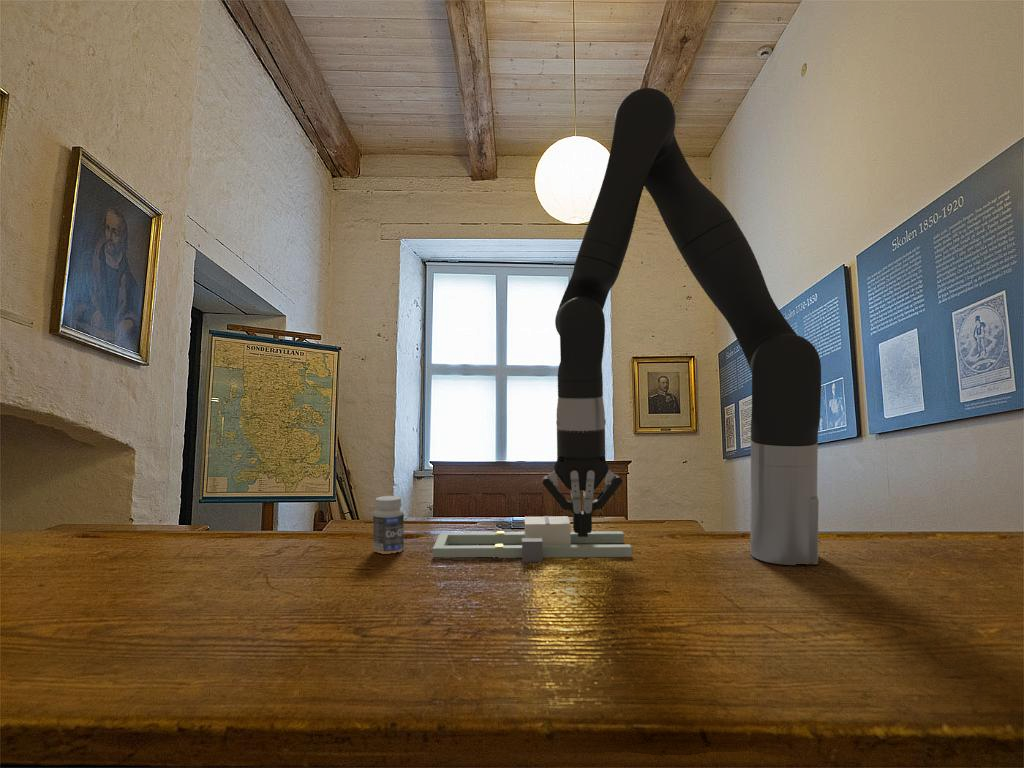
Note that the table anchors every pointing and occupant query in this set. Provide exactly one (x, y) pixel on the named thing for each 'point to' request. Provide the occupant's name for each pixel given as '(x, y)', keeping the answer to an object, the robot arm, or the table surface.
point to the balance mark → (499, 544)
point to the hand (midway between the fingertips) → (582, 535)
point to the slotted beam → (529, 546)
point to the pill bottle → (388, 524)
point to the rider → (549, 529)
